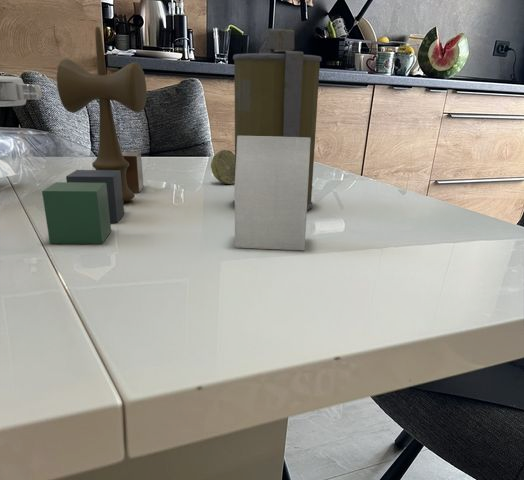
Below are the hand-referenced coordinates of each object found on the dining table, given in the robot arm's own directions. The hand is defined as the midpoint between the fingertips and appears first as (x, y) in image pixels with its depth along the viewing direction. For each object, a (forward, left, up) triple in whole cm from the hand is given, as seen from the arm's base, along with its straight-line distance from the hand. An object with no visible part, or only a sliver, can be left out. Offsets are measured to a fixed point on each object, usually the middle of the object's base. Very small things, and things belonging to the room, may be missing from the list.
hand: (18, 92), depth 67 cm
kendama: (+11, -2, -13) cm, 17 cm away
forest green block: (+11, -21, -13) cm, 26 cm away
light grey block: (+30, -23, -13) cm, 40 cm away
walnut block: (+11, +7, -13) cm, 18 cm away
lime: (+26, +14, -13) cm, 32 cm away
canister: (+32, -4, -13) cm, 34 cm away
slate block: (+11, -12, -13) cm, 20 cm away
